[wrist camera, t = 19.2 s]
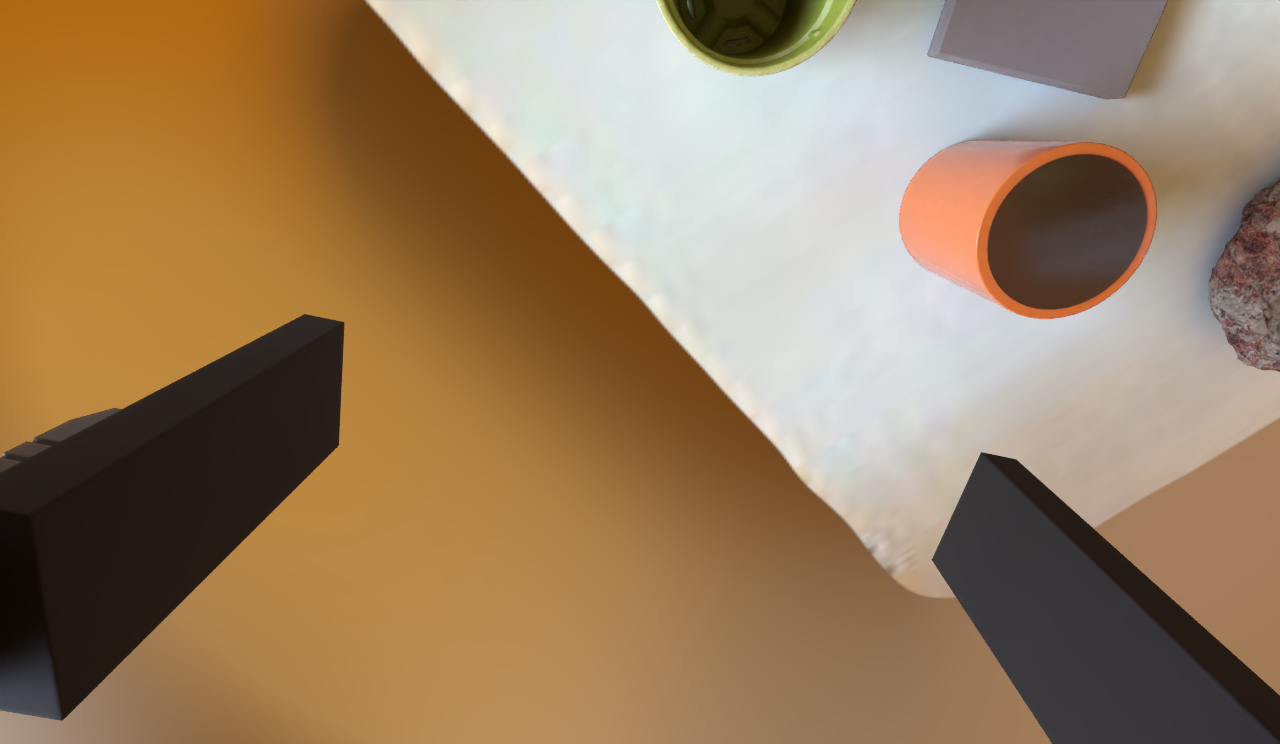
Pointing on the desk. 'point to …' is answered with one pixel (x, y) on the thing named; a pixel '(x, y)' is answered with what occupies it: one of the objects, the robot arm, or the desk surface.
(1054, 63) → the coffee maker
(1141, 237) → the cup
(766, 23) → the plant pot
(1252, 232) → the mineral rock
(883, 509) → the desk surface
